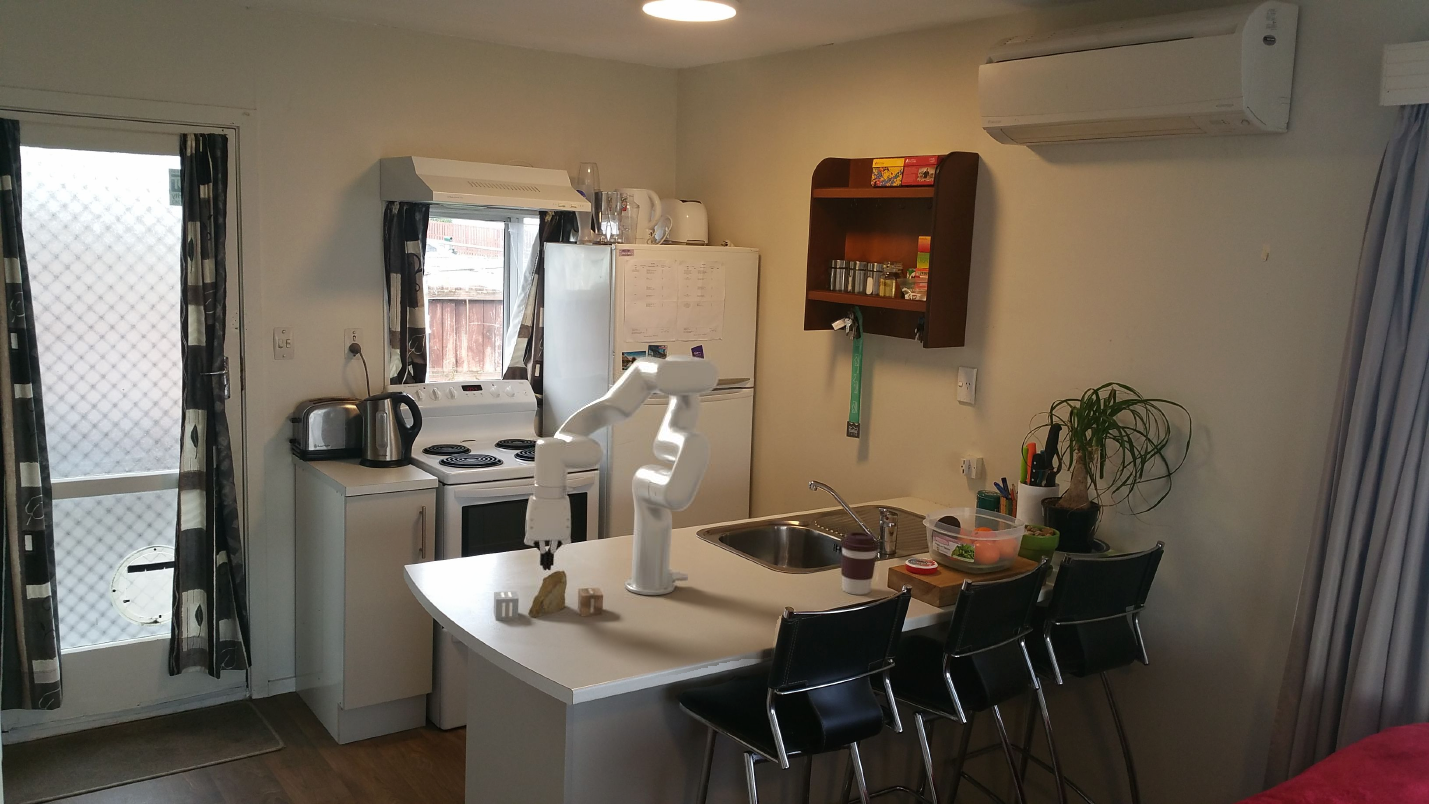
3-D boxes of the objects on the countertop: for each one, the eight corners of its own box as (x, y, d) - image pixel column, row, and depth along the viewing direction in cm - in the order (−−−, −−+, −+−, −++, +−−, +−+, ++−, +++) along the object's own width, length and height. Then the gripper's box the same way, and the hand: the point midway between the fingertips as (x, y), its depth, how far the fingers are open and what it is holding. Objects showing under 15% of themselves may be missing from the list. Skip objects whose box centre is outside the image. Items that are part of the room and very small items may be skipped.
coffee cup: (882, 592, 271) (887, 536, 268) (860, 599, 263) (865, 542, 261) (851, 582, 277) (855, 527, 275) (829, 589, 270) (833, 533, 268)
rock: (533, 613, 234) (575, 602, 239) (523, 578, 237) (565, 568, 242) (525, 627, 243) (565, 616, 248) (515, 593, 246) (555, 583, 251)
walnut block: (598, 608, 247) (599, 587, 246) (602, 615, 242) (603, 594, 241) (577, 608, 246) (578, 588, 245) (581, 616, 241) (582, 595, 240)
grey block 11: (515, 611, 241) (516, 590, 241) (518, 619, 236) (518, 598, 236) (493, 612, 240) (494, 591, 239) (495, 620, 235) (496, 599, 234)
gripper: (579, 487, 244) (575, 563, 247) (515, 487, 240) (512, 564, 243) (584, 495, 237) (581, 572, 240) (518, 495, 233) (515, 574, 235)
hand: (546, 568), depth 241 cm, fingers closed
